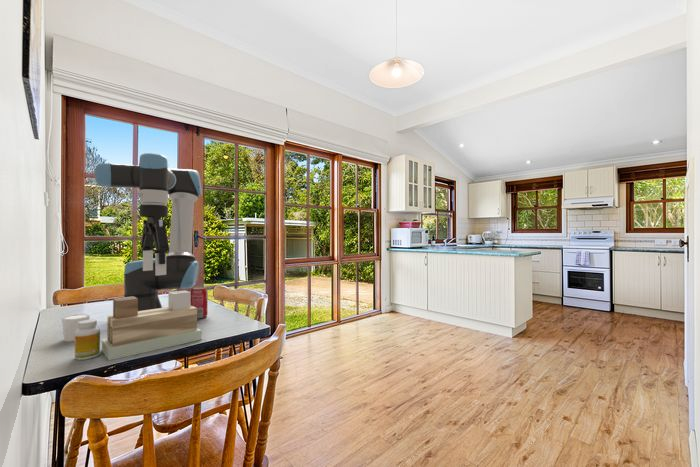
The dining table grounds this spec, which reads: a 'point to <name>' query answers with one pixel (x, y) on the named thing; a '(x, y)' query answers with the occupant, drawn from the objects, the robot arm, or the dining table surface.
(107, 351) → the block
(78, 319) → the white cup
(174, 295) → the white cube
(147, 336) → the wooden block
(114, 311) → the brown wooden cube
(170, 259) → the robot arm
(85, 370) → the dining table surface
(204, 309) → the beverage can
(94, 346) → the supplement bottle
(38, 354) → the dining table surface
